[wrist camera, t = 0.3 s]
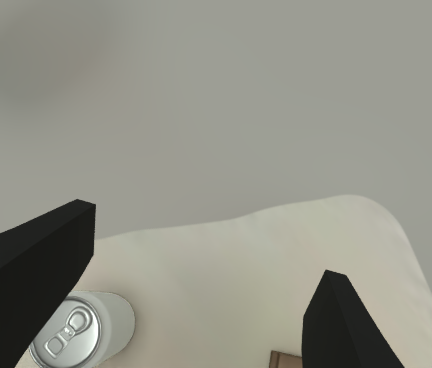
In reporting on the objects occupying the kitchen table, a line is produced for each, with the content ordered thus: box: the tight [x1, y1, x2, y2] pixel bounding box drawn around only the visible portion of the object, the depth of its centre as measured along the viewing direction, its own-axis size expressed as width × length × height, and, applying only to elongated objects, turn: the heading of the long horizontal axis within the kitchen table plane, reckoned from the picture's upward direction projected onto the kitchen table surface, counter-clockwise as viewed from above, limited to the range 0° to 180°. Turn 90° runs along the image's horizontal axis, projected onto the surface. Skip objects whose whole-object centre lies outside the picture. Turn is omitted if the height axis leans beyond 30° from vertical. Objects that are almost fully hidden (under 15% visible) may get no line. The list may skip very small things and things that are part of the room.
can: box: [28, 291, 135, 368], centre depth 34 cm, size 6×6×12 cm
